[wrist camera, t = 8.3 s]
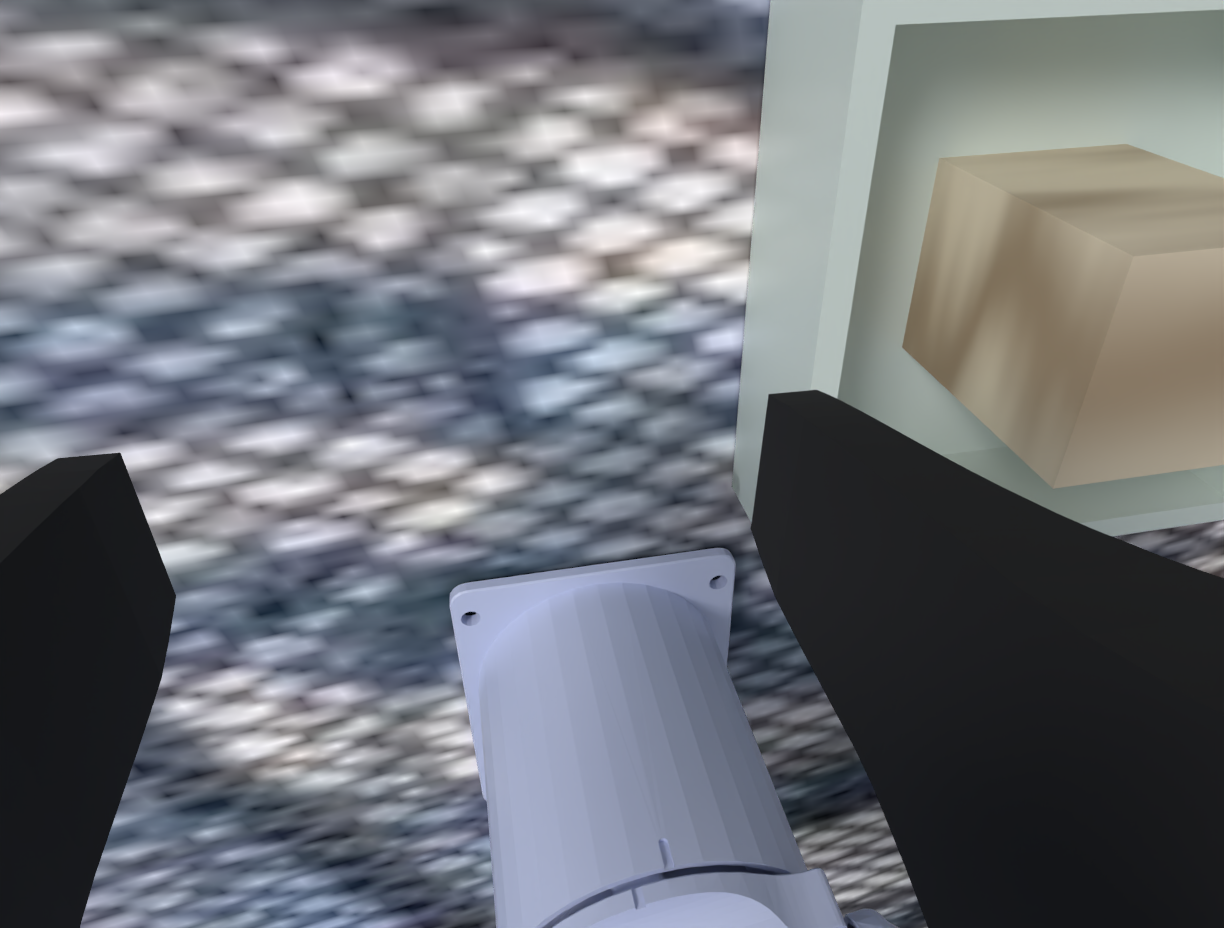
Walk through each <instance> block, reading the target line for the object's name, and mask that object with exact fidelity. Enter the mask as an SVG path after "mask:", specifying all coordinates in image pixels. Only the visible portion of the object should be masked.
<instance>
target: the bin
mask: <svg viewBox="0 0 1224 928" xmlns="http://www.w3.org/2000/svg"><path fill="white" fill-rule="evenodd" d="M1118 144H1128V145H1131V146H1134V147H1137V148H1140V149H1143V150H1145V151H1148V152H1151V153H1154V154H1157V155H1160V156H1162V157H1165V158H1168V159H1171V160H1174V161H1177V162H1179V163H1182V164H1185V165H1188V166H1191V167H1194V168H1196V169H1199V170H1202V171H1205V172H1208V173H1211V174H1213V175H1216V176H1219V177H1222V178H1224V0H771V1H770V14H769V26H768V39H767V52H766V64H765V77H764V89H763V102H762V114H761V127H760V140H759V152H758V165H757V177H756V190H755V202H754V215H753V228H752V240H751V253H750V265H749V278H748V290H747V303H746V315H745V328H744V341H743V353H742V366H741V378H740V391H739V403H738V416H737V429H736V441H735V454H734V466H733V479H732V487H733V489H734V491H735V493H736V495H737V497H738V499H739V501H740V503H741V504H742V506H743V508H744V510H745V512H746V514H747V516H748V518H749V520H750V521H751V523H752V516H753V509H754V501H755V493H756V486H757V478H758V471H759V463H760V455H761V448H762V440H763V433H764V425H765V418H766V410H767V402H768V395H769V394H775V393H786V392H797V391H808V390H819V391H821V392H824V393H826V394H828V395H830V396H833V397H835V398H837V399H839V400H841V401H843V402H845V403H847V404H849V405H851V406H853V407H854V408H856V409H858V410H860V411H862V412H864V413H866V414H868V415H869V416H871V417H873V418H875V419H877V420H879V421H880V422H882V423H884V424H886V425H888V426H889V427H891V428H893V429H895V430H897V431H898V432H900V433H902V434H904V435H906V436H907V437H909V438H911V439H913V440H915V441H916V442H918V443H920V444H922V445H924V446H926V447H927V448H929V449H931V450H933V451H935V452H937V453H938V454H940V455H942V456H944V457H946V458H948V459H949V460H951V461H953V462H955V463H957V464H959V465H961V466H963V467H965V468H966V469H968V470H970V471H972V472H974V473H976V474H978V475H980V476H982V477H984V478H986V479H988V480H990V481H992V482H994V483H995V484H997V485H999V486H1001V487H1003V488H1006V489H1008V490H1010V491H1012V492H1014V493H1016V494H1018V495H1020V496H1022V497H1024V498H1026V499H1028V500H1031V501H1033V502H1035V503H1037V504H1039V505H1041V506H1043V507H1045V508H1047V509H1049V510H1051V511H1053V512H1056V513H1058V514H1060V515H1062V516H1064V517H1067V518H1069V519H1071V520H1074V521H1076V522H1078V523H1080V524H1083V525H1085V526H1087V527H1089V528H1092V529H1094V530H1097V531H1099V532H1102V533H1104V534H1107V535H1109V536H1119V535H1125V534H1132V533H1139V532H1146V531H1152V530H1159V529H1166V528H1173V527H1179V526H1186V525H1193V524H1199V523H1206V522H1213V521H1220V520H1224V465H1219V466H1212V467H1205V468H1198V469H1191V470H1183V471H1176V472H1169V473H1162V474H1155V475H1148V476H1141V477H1133V478H1126V479H1119V480H1112V481H1105V482H1098V483H1090V484H1083V485H1076V486H1069V487H1062V488H1055V489H1053V488H1052V487H1051V486H1050V485H1048V484H1047V483H1046V482H1045V481H1044V480H1043V479H1042V478H1041V477H1040V476H1039V475H1038V474H1037V473H1036V472H1035V471H1033V470H1032V469H1031V468H1030V467H1029V466H1028V465H1027V464H1026V463H1025V462H1024V461H1023V460H1022V459H1021V458H1020V457H1019V456H1017V455H1016V454H1015V453H1014V452H1013V451H1012V450H1011V449H1010V448H1009V447H1008V446H1007V445H1006V444H1005V443H1004V442H1003V441H1001V440H1000V439H999V438H998V437H997V436H996V435H995V434H994V433H993V432H992V431H991V430H990V429H989V428H988V427H987V426H985V425H984V424H983V423H982V422H981V421H980V420H979V419H978V418H977V417H976V416H975V415H974V414H973V413H972V412H971V411H969V410H968V409H967V408H966V407H965V406H964V405H963V404H962V403H961V402H960V401H959V400H958V399H957V398H956V397H955V396H953V395H952V394H951V393H950V392H949V391H948V390H947V389H946V388H945V387H944V386H943V385H942V384H941V383H940V382H939V381H937V380H936V379H935V378H934V377H933V376H932V375H931V374H930V373H929V372H928V371H927V370H926V369H925V368H924V367H923V366H921V365H920V364H919V363H918V362H917V361H916V360H915V359H914V358H913V357H912V356H911V355H910V354H909V353H908V352H907V351H905V350H904V349H903V348H902V345H903V340H904V335H905V330H906V325H907V319H908V314H909V309H910V304H911V299H912V294H913V289H914V284H915V279H916V274H917V269H918V264H919V258H920V253H921V248H922V243H923V238H924V233H925V228H926V223H927V218H928V213H929V208H930V203H931V197H932V192H933V187H934V182H935V177H936V172H937V167H938V162H939V158H945V157H958V156H972V155H985V154H998V153H1012V152H1025V151H1038V150H1052V149H1065V148H1078V147H1092V146H1105V145H1118Z"/></svg>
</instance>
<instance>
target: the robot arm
mask: <svg viewBox="0 0 1224 928" xmlns="http://www.w3.org/2000/svg"><path fill="white" fill-rule="evenodd" d="M751 530H752V533H753V536H754V539H755V542H756V545H757V548H758V551H759V554H760V557H761V560H762V563H763V566H764V568H765V571H766V574H767V576H768V579H769V582H770V584H771V587H772V590H773V592H774V595H775V597H776V599H777V601H778V603H779V605H780V607H781V609H782V611H783V613H784V615H785V617H786V619H787V621H788V623H789V625H790V627H791V629H792V631H793V633H794V634H795V636H796V638H797V640H798V642H799V644H800V646H801V648H802V650H803V652H804V654H805V656H806V657H807V659H808V661H809V663H810V665H811V667H812V669H813V671H814V672H815V674H816V676H817V678H818V680H819V682H820V684H821V686H822V688H823V689H824V691H825V693H826V695H827V697H828V699H829V701H830V703H831V704H832V706H833V708H834V710H835V712H836V714H837V716H838V718H839V720H840V721H841V723H842V725H843V727H844V729H845V731H846V733H847V735H848V736H849V738H850V740H851V742H852V744H853V746H854V748H855V750H856V752H857V754H858V756H859V758H860V760H861V762H862V764H863V766H864V769H865V771H866V773H867V775H868V777H869V779H870V781H871V783H872V785H873V788H874V790H875V793H876V795H877V798H878V800H879V803H880V805H881V808H882V810H883V812H884V815H885V817H886V820H887V822H888V825H889V827H890V830H891V832H892V835H893V837H894V840H895V842H896V845H897V847H898V850H899V852H900V855H901V857H902V860H903V862H904V865H905V867H906V870H907V872H908V875H909V878H910V880H911V883H912V886H913V888H914V891H915V894H916V896H917V899H918V902H919V904H920V907H921V910H922V912H923V915H924V918H925V920H926V923H927V926H928V928H1224V578H1221V577H1218V576H1215V575H1212V574H1209V573H1206V572H1203V571H1200V570H1197V569H1195V568H1192V567H1189V566H1186V565H1184V564H1181V563H1178V562H1175V561H1172V560H1170V559H1167V558H1164V557H1162V556H1159V555H1157V554H1154V553H1152V552H1149V551H1147V550H1144V549H1142V548H1139V547H1137V546H1134V545H1132V544H1129V543H1127V542H1124V541H1122V540H1119V539H1117V538H1114V537H1112V536H1109V535H1107V534H1104V533H1102V532H1099V531H1097V530H1094V529H1092V528H1089V527H1087V526H1085V525H1083V524H1080V523H1078V522H1076V521H1074V520H1071V519H1069V518H1067V517H1064V516H1062V515H1060V514H1058V513H1056V512H1053V511H1051V510H1049V509H1047V508H1045V507H1043V506H1041V505H1039V504H1037V503H1035V502H1033V501H1031V500H1028V499H1026V498H1024V497H1022V496H1020V495H1018V494H1016V493H1014V492H1012V491H1010V490H1008V489H1006V488H1003V487H1001V486H999V485H997V484H995V483H994V482H992V481H990V480H988V479H986V478H984V477H982V476H980V475H978V474H976V473H974V472H972V471H970V470H968V469H966V468H965V467H963V466H961V465H959V464H957V463H955V462H953V461H951V460H949V459H948V458H946V457H944V456H942V455H940V454H938V453H937V452H935V451H933V450H931V449H929V448H927V447H926V446H924V445H922V444H920V443H918V442H916V441H915V440H913V439H911V438H909V437H907V436H906V435H904V434H902V433H900V432H898V431H897V430H895V429H893V428H891V427H889V426H888V425H886V424H884V423H882V422H880V421H879V420H877V419H875V418H873V417H871V416H869V415H868V414H866V413H864V412H862V411H860V410H858V409H856V408H854V407H853V406H851V405H849V404H847V403H845V402H843V401H841V400H839V399H837V398H835V397H833V396H830V395H828V394H826V393H824V392H821V391H819V390H808V391H797V392H786V393H775V394H769V395H768V402H767V410H766V418H765V425H764V433H763V440H762V448H761V455H760V463H759V471H758V478H757V486H756V493H755V501H754V509H753V516H752V524H751ZM735 569H736V564H735V560H734V558H733V556H732V554H731V553H730V551H729V550H727V549H725V548H712V549H704V550H697V551H690V552H683V553H676V554H669V555H662V556H654V557H647V558H640V559H633V560H626V561H619V562H612V563H604V564H597V565H590V566H583V567H576V568H569V569H562V570H554V571H547V572H540V573H533V574H526V575H519V576H512V577H504V578H497V579H490V580H483V581H476V582H469V583H464V584H460V585H458V586H457V587H455V588H454V589H453V590H452V592H451V593H450V610H451V616H452V622H453V628H454V633H455V639H456V645H457V650H458V656H459V662H460V668H461V673H462V679H463V685H464V691H465V696H466V702H467V708H468V713H469V719H470V725H471V731H472V736H473V742H474V748H475V754H476V759H477V765H478V771H479V776H480V782H481V788H482V794H483V797H484V799H485V800H486V801H487V808H488V822H489V835H490V848H491V861H492V874H493V888H494V901H495V914H496V927H497V928H898V927H897V926H895V925H893V924H892V923H890V922H888V921H887V920H886V919H885V918H884V917H883V916H882V915H881V914H880V913H878V912H877V911H875V910H873V909H861V910H858V911H855V912H852V913H849V914H845V918H843V916H842V914H841V911H840V909H839V906H838V904H837V901H836V899H835V897H834V894H833V892H832V889H831V887H830V885H829V882H828V880H827V877H826V875H825V873H824V870H823V869H821V868H814V869H810V870H807V868H806V865H805V863H804V860H803V858H802V855H801V853H800V850H799V848H798V845H797V843H796V840H795V838H794V835H793V833H792V830H791V828H790V825H789V823H788V820H787V818H786V815H785V813H784V810H783V808H782V805H781V803H780V800H779V798H778V795H777V793H776V790H775V788H774V785H773V783H772V780H771V778H770V775H769V773H768V770H767V768H766V765H765V763H764V760H763V758H762V755H761V753H760V750H759V748H758V745H757V742H756V740H755V737H754V735H753V732H752V730H751V727H750V725H749V722H748V720H747V717H746V715H745V712H744V710H743V707H742V705H741V702H740V700H739V697H738V695H737V692H736V690H735V687H734V685H733V682H732V680H731V677H730V675H729V672H728V670H727V659H728V648H729V636H730V625H731V614H732V603H733V591H734V580H735ZM719 575H720V576H721V577H720V578H718V579H716V580H711V579H712V578H714V577H716V576H719ZM175 599H176V595H175V592H174V590H173V587H172V584H171V582H170V579H169V577H168V574H167V572H166V569H165V566H164V564H163V561H162V559H161V556H160V554H159V551H158V548H157V546H156V543H155V541H154V538H153V536H152V533H151V530H150V528H149V525H148V523H147V520H146V518H145V515H144V512H143V510H142V507H141V505H140V502H139V500H138V497H137V495H136V492H135V489H134V487H133V484H132V482H131V479H130V477H129V474H128V471H127V469H126V466H125V464H124V461H123V459H122V456H121V453H112V454H101V455H90V456H79V457H68V458H58V459H56V460H54V461H52V462H51V463H49V464H47V465H45V466H44V467H42V468H40V469H38V470H37V471H35V472H34V473H32V474H30V475H29V476H27V477H26V478H24V479H23V480H21V481H20V482H18V483H17V484H15V485H14V486H12V487H11V488H9V489H8V490H6V491H5V492H4V493H2V494H1V495H0V928H80V924H81V921H82V917H83V914H84V910H85V907H86V904H87V900H88V897H89V893H90V890H91V887H92V883H93V880H94V876H95V873H96V870H97V867H98V865H99V862H100V859H101V856H102V853H103V850H104V847H105V844H106V841H107V838H108V835H109V832H110V829H111V827H112V824H113V821H114V818H115V815H116V812H117V809H118V806H119V803H120V800H121V797H122V794H123V792H124V789H125V786H126V783H127V780H128V777H129V774H130V771H131V768H132V765H133V762H134V760H135V757H136V754H137V751H138V748H139V745H140V742H141V739H142V736H143V733H144V730H145V727H146V724H147V721H148V718H149V715H150V712H151V709H152V706H153V703H154V700H155V697H156V694H157V690H158V687H159V684H160V681H161V678H162V673H163V668H164V663H165V657H166V652H167V647H168V642H169V636H170V630H171V624H172V618H173V611H174V605H175ZM467 612H476V614H474V615H471V616H469V615H464V614H465V613H467Z"/></svg>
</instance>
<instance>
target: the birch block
mask: <svg viewBox="0 0 1224 928" xmlns="http://www.w3.org/2000/svg"><path fill="white" fill-rule="evenodd" d="M902 348H903V349H904V350H905V351H907V352H908V353H909V354H910V355H911V356H912V357H913V358H914V359H915V360H916V361H917V362H918V363H919V364H920V365H921V366H923V367H924V368H925V369H926V370H927V371H928V372H929V373H930V374H931V375H932V376H933V377H934V378H935V379H936V380H937V381H939V382H940V383H941V384H942V385H943V386H944V387H945V388H946V389H947V390H948V391H949V392H950V393H951V394H952V395H953V396H955V397H956V398H957V399H958V400H959V401H960V402H961V403H962V404H963V405H964V406H965V407H966V408H967V409H968V410H969V411H971V412H972V413H973V414H974V415H975V416H976V417H977V418H978V419H979V420H980V421H981V422H982V423H983V424H984V425H985V426H987V427H988V428H989V429H990V430H991V431H992V432H993V433H994V434H995V435H996V436H997V437H998V438H999V439H1000V440H1001V441H1003V442H1004V443H1005V444H1006V445H1007V446H1008V447H1009V448H1010V449H1011V450H1012V451H1013V452H1014V453H1015V454H1016V455H1017V456H1019V457H1020V458H1021V459H1022V460H1023V461H1024V462H1025V463H1026V464H1027V465H1028V466H1029V467H1030V468H1031V469H1032V470H1033V471H1035V472H1036V473H1037V474H1038V475H1039V476H1040V477H1041V478H1042V479H1043V480H1044V481H1045V482H1046V483H1047V484H1048V485H1050V486H1051V487H1052V488H1053V489H1055V488H1062V487H1069V486H1076V485H1083V484H1090V483H1098V482H1105V481H1112V480H1119V479H1126V478H1133V477H1141V476H1148V475H1155V474H1162V473H1169V472H1176V471H1183V470H1191V469H1198V468H1205V467H1212V466H1219V465H1224V178H1222V177H1219V176H1216V175H1213V174H1211V173H1208V172H1205V171H1202V170H1199V169H1196V168H1194V167H1191V166H1188V165H1185V164H1182V163H1179V162H1177V161H1174V160H1171V159H1168V158H1165V157H1162V156H1160V155H1157V154H1154V153H1151V152H1148V151H1145V150H1143V149H1140V148H1137V147H1134V146H1131V145H1128V144H1118V145H1105V146H1092V147H1078V148H1065V149H1052V150H1038V151H1025V152H1012V153H998V154H985V155H972V156H958V157H945V158H939V162H938V167H937V172H936V177H935V182H934V187H933V192H932V197H931V203H930V208H929V213H928V218H927V223H926V228H925V233H924V238H923V243H922V248H921V253H920V258H919V264H918V269H917V274H916V279H915V284H914V289H913V294H912V299H911V304H910V309H909V314H908V319H907V325H906V330H905V335H904V340H903V345H902Z"/></svg>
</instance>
